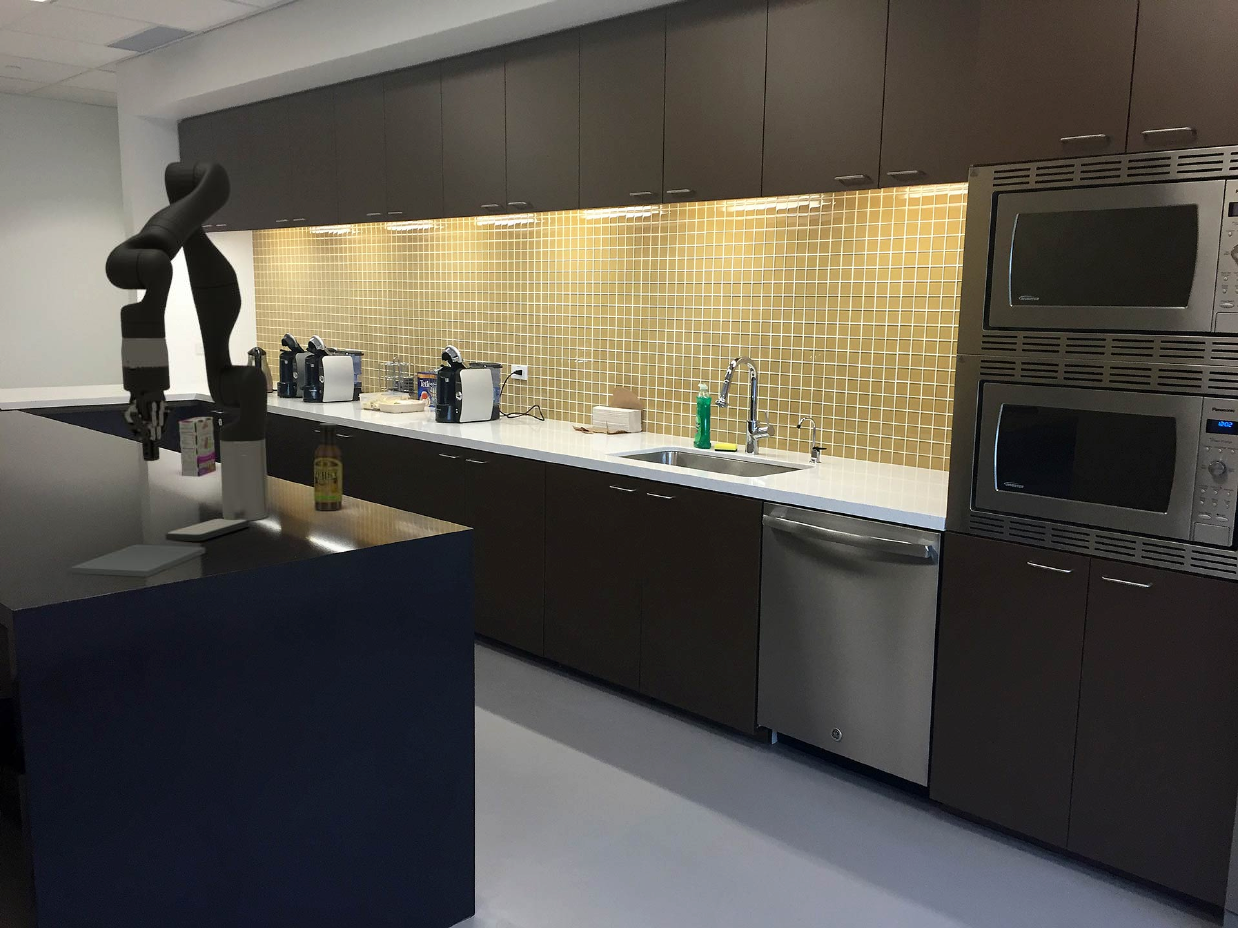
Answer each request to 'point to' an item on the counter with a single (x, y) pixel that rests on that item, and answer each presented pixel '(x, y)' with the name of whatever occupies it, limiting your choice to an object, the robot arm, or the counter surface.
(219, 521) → the smartphone
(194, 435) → the candy bar box
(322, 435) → the sauce bottle
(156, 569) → the mat
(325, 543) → the counter surface
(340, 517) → the counter surface
